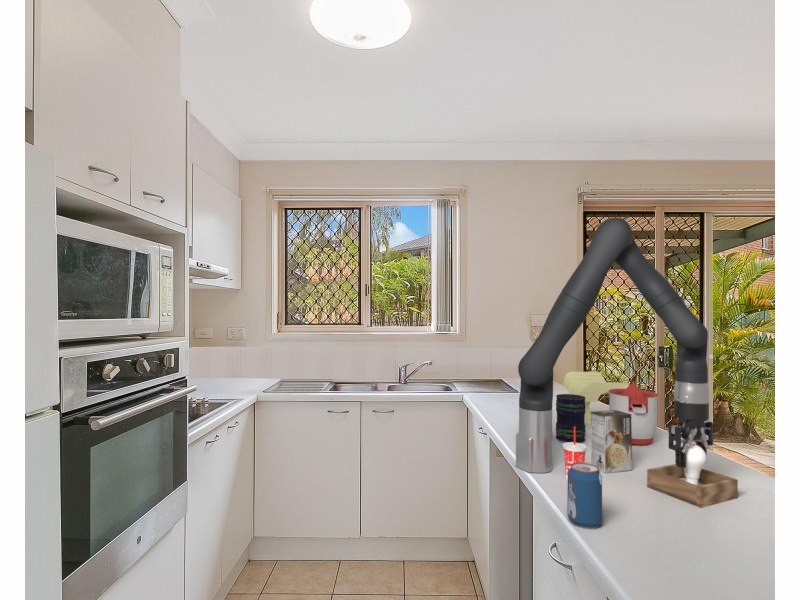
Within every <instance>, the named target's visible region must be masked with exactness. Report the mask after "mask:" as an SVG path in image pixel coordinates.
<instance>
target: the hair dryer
mask: <svg viewBox="0 0 800 600" xmlns="http://www.w3.org/2000/svg"><path fill="white" fill-rule="evenodd" d="M629 385H630V384H629V382H607V381H606V380H605V378H604V376H603V374H602V372H601V371H568V372H567V373H566V374H565V375H564V378H563V389H566V390H567V391H568V394H573V395H580V396H584V397H585V405H586V408H585V411H586V412H585V423H584V424H590V425H591V412H592V410H591V411H590V404H591V403H598V400H599V398H600V397H601V395H609V393H610V392H609V390H611V389H626V388H627V387H628V386H629Z"/></svg>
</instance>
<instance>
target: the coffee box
mask: <svg viewBox="0 0 800 600" xmlns="http://www.w3.org/2000/svg"><path fill="white" fill-rule="evenodd" d="M590 440H591V441H590V443H591V445H590V449H591V451H590V455H591V456H590V457H591V458H590V459H591V461H590V464H593V465H595V466H597V467H598V468H599V472H602V473H605V474H609V473H619V472H627V471H633V456H632V455H633V453H632V452H633V451H632V450H633V449H632V446H633V444H632V426H631V414H628V413H625V412H621V411H617V410H611V411H609V410H595V411H591V424H590Z"/></svg>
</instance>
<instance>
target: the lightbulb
mask: <svg viewBox="0 0 800 600" xmlns="http://www.w3.org/2000/svg"><path fill="white" fill-rule="evenodd" d="M685 453H686V467H685V468H684V471H685V476H686V482H689V483H692V484H695V485H697V486H698V479H699V477H700V471H701V469H704V467H705V465H706V464H707V458H708V457H707V456H706V453H705V452H704V450H703V449H702V448H701V447H699V446H698V445H696V443H691V445H689V446H688V447H687V449H686V452H685Z"/></svg>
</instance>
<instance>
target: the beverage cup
mask: <svg viewBox="0 0 800 600" xmlns="http://www.w3.org/2000/svg"><path fill="white" fill-rule="evenodd" d="M562 448H563V457H564V459H563V460H564V474H565V475H564V476H565V479H566V480H567V481H568V471H569V469H570V468H571V464H573V463H586V451H587V445H586V444H583V443H576V427H575V426H574V442H564V443H562Z"/></svg>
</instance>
